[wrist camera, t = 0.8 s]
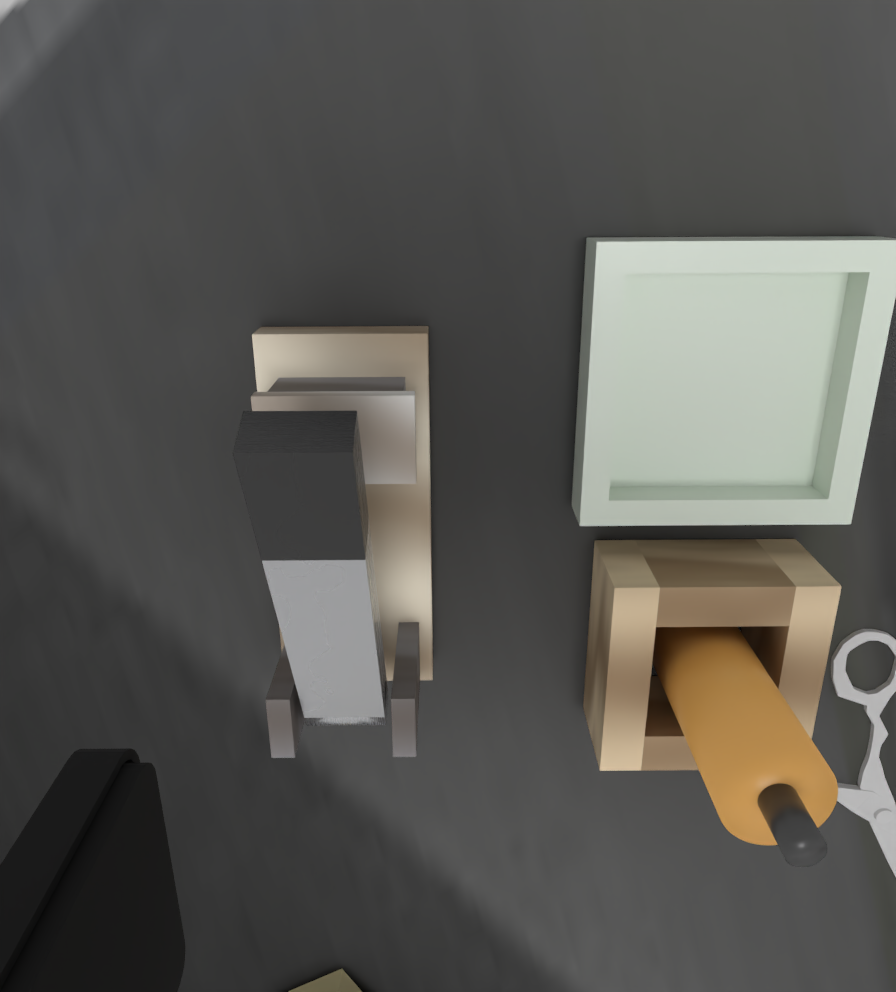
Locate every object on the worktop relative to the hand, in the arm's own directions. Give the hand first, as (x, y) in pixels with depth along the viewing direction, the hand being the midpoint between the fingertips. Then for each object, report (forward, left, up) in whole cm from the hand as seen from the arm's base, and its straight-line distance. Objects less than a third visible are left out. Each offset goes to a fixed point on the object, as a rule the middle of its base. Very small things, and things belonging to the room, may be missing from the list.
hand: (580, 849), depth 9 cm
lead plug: (-11, -9, -22) cm, 26 cm away
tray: (0, -9, -22) cm, 24 cm away
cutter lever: (-5, +5, -15) cm, 17 cm away
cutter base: (-5, +5, -22) cm, 23 cm away
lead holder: (-11, -9, -22) cm, 26 cm away
